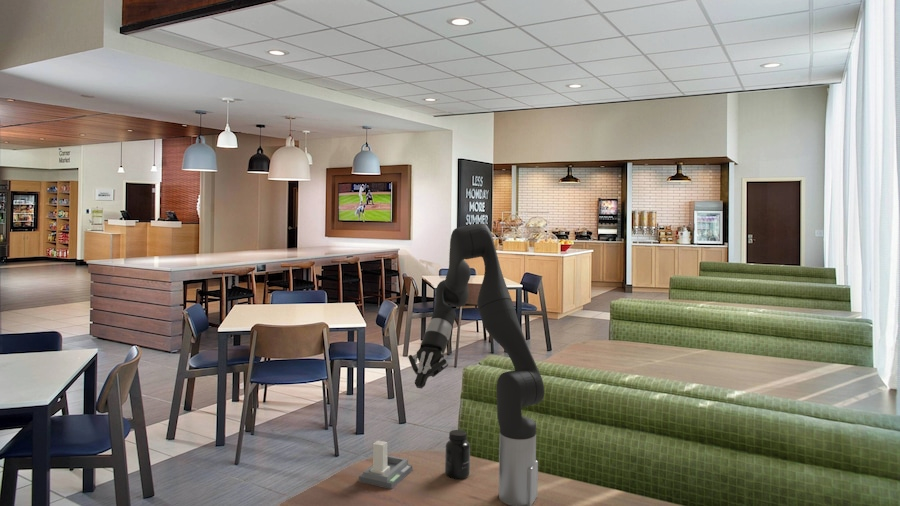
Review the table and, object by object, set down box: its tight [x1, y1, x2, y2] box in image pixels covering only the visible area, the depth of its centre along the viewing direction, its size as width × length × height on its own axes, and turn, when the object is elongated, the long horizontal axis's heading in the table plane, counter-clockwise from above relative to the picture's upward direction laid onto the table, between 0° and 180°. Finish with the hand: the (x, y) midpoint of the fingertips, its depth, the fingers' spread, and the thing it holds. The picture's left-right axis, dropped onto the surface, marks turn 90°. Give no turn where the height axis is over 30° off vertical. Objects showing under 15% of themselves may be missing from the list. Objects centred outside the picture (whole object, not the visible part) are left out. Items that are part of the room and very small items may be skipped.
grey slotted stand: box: [358, 454, 413, 490], centre depth 168 cm, size 10×12×3 cm
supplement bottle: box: [444, 429, 471, 480], centre depth 168 cm, size 7×7×12 cm
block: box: [370, 440, 390, 475], centre depth 164 cm, size 4×4×9 cm
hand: (418, 387), depth 176 cm, fingers closed
